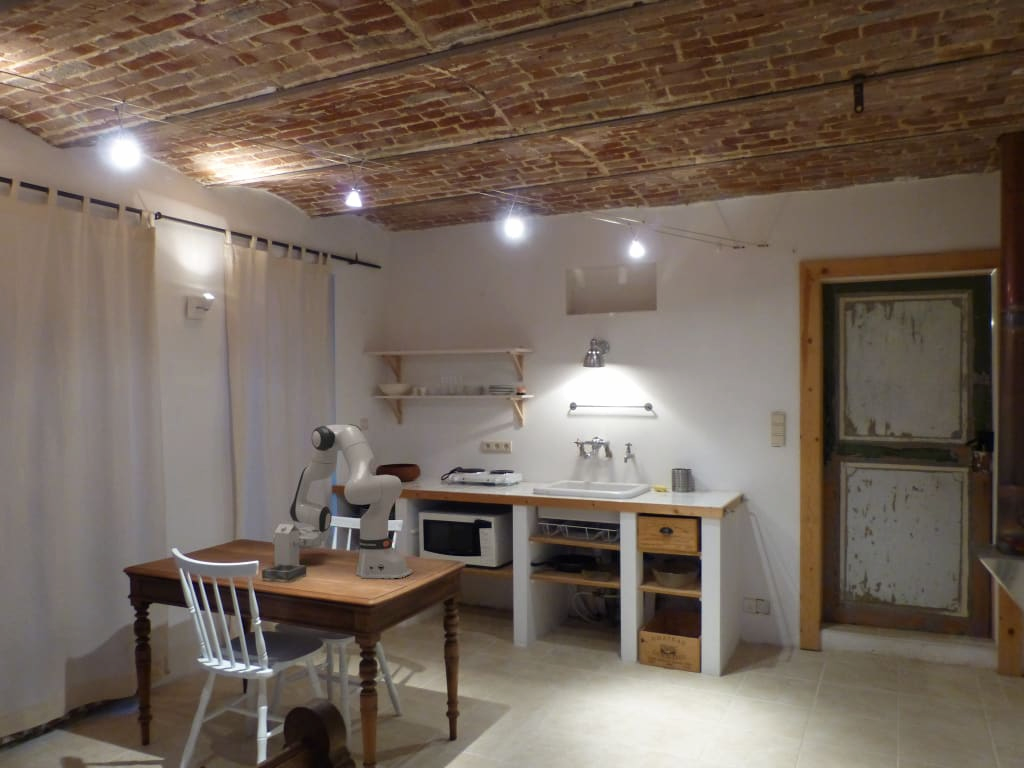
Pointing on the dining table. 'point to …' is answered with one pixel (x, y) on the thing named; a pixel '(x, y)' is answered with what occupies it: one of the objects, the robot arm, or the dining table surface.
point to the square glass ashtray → (284, 572)
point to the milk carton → (286, 544)
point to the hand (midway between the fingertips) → (285, 543)
